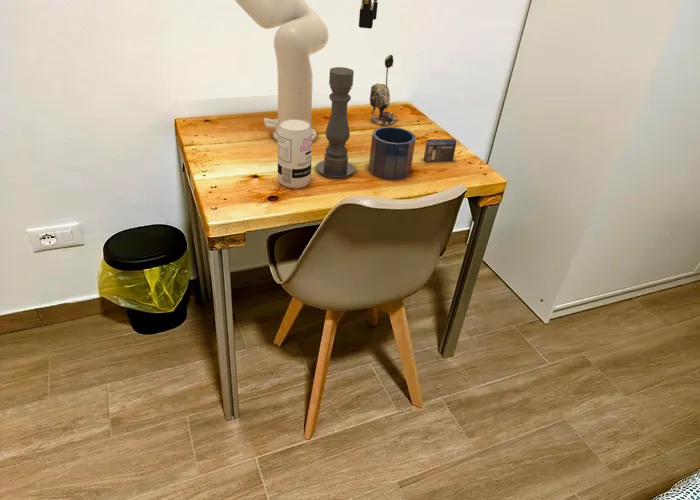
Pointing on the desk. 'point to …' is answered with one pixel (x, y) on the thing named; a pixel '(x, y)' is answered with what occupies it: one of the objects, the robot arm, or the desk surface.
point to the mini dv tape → (439, 150)
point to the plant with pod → (382, 99)
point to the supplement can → (294, 153)
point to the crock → (391, 153)
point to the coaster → (331, 175)
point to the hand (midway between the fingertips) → (367, 23)
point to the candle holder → (338, 120)
